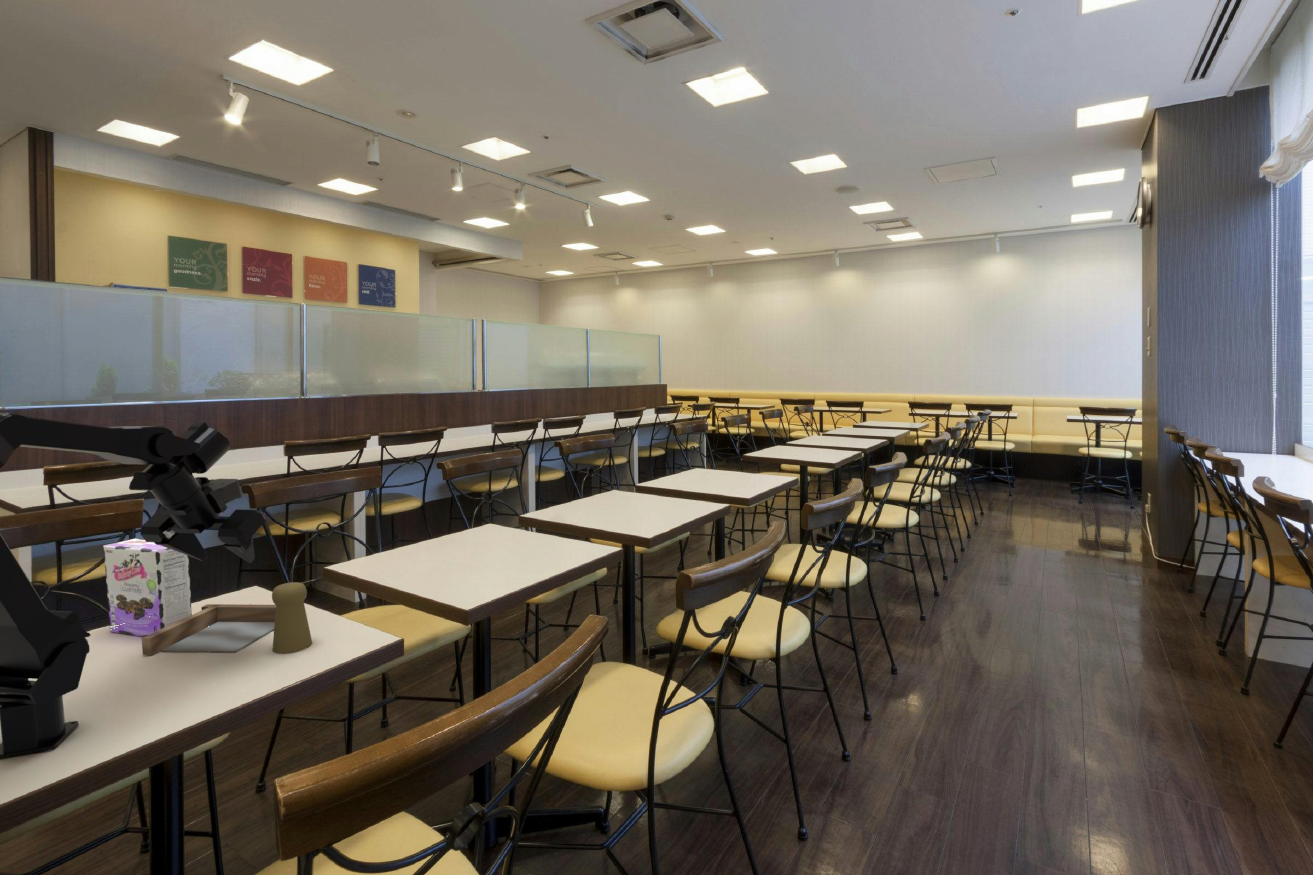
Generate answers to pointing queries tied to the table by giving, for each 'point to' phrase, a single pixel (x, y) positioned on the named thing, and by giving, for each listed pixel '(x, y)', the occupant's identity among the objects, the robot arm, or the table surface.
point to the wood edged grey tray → (213, 630)
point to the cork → (290, 619)
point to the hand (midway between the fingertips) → (228, 559)
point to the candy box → (146, 586)
